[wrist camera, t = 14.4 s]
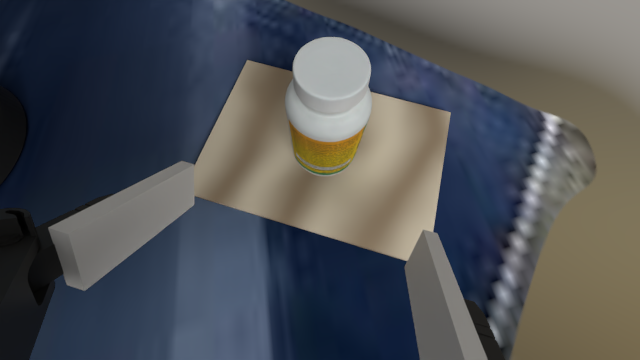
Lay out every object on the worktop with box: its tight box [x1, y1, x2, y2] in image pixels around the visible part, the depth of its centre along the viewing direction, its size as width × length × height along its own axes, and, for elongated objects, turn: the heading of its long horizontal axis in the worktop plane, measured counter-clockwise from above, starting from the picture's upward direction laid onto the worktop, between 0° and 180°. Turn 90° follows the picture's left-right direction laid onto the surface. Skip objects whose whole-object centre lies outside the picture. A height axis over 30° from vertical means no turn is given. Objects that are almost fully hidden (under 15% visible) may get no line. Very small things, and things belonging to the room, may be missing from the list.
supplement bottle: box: [285, 37, 372, 176], centre depth 17 cm, size 5×5×10 cm
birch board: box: [194, 60, 451, 261], centre depth 22 cm, size 20×14×1 cm
